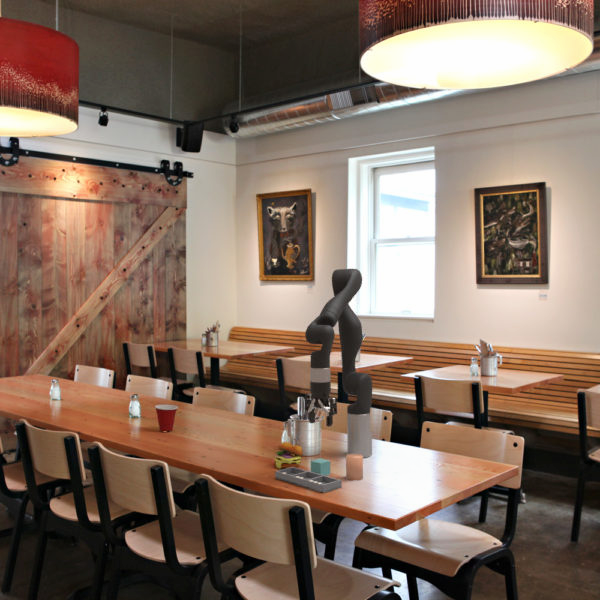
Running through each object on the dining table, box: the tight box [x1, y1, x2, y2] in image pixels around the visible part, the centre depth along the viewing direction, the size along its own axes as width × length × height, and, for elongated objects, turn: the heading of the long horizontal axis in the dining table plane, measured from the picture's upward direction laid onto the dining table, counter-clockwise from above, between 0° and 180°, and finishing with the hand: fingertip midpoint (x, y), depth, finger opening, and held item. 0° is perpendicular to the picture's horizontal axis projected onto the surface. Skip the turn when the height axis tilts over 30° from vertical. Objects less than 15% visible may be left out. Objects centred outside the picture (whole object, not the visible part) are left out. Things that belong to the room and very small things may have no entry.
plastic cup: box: [154, 404, 179, 432], centre depth 325 cm, size 11×11×12 cm
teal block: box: [310, 458, 331, 476], centre depth 250 cm, size 5×5×5 cm
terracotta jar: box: [345, 454, 364, 481], centre depth 245 cm, size 6×6×8 cm
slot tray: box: [274, 467, 343, 494], centre depth 239 cm, size 9×24×3 cm, turn 44°
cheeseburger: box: [274, 441, 304, 470], centre depth 262 cm, size 10×11×10 cm
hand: (320, 424), depth 250 cm, fingers open, 8 cm apart
